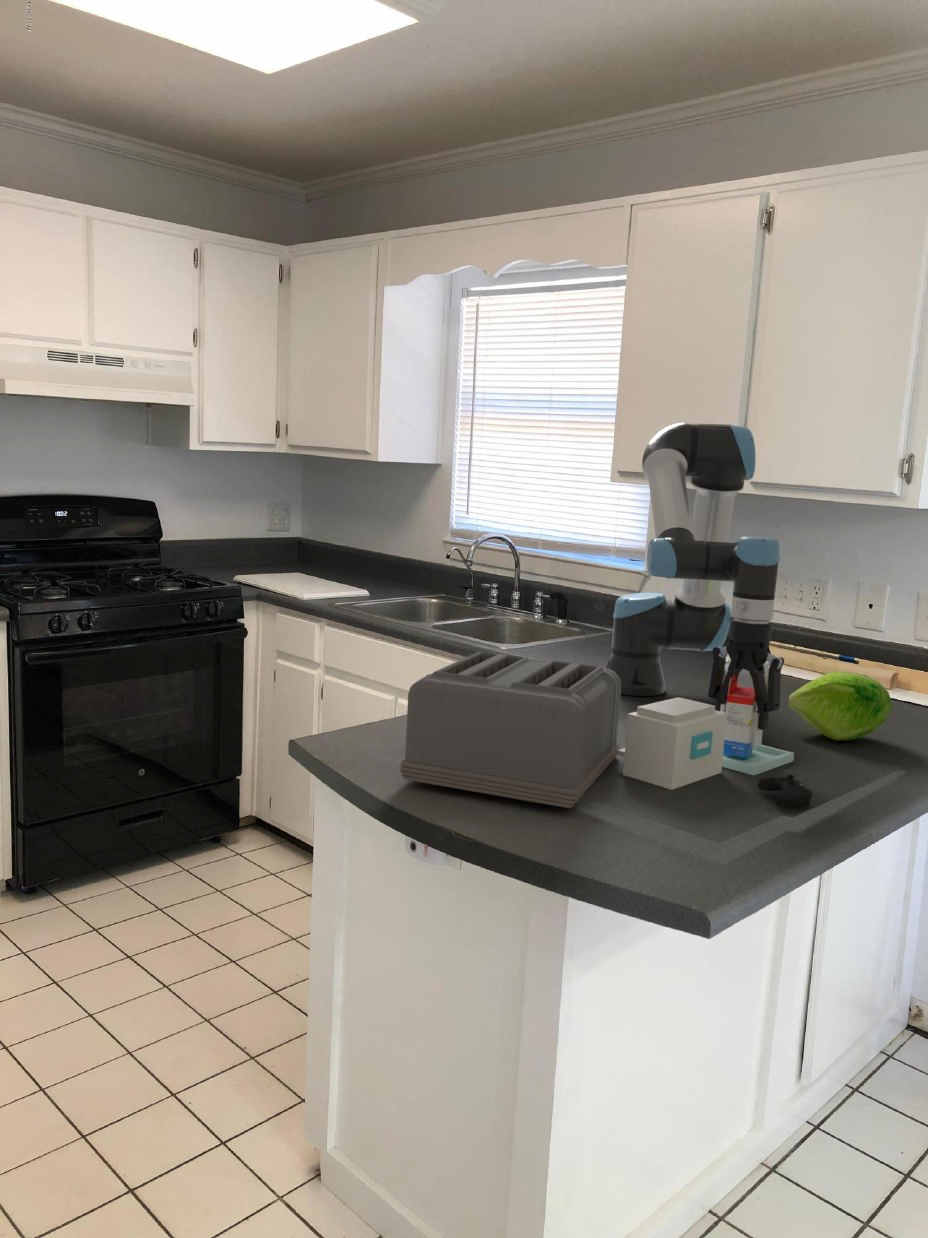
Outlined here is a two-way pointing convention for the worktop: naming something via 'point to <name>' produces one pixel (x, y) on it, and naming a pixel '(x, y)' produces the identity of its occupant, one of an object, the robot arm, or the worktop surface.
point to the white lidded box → (674, 742)
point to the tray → (758, 760)
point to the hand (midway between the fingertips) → (739, 740)
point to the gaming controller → (786, 790)
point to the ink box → (739, 720)
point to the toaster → (513, 727)
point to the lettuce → (842, 704)
